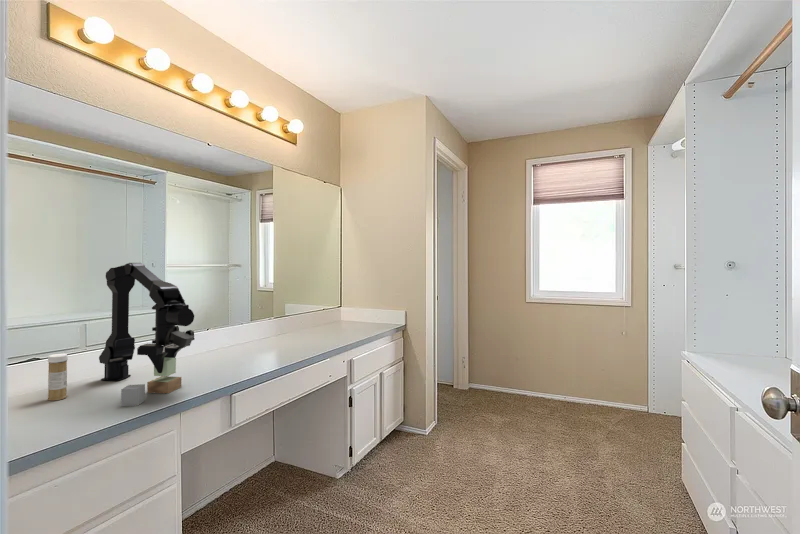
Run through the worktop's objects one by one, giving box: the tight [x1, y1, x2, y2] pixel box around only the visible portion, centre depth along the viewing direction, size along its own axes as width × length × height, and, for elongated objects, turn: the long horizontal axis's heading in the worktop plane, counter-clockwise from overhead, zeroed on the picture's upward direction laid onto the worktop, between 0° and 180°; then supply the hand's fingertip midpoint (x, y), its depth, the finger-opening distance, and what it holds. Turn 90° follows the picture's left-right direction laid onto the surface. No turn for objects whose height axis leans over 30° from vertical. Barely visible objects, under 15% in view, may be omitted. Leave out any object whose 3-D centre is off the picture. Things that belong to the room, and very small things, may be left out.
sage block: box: [153, 357, 177, 377], centre depth 134 cm, size 4×4×5 cm
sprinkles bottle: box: [47, 353, 68, 401], centre depth 123 cm, size 5×5×14 cm
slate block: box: [120, 383, 146, 407], centre depth 121 cm, size 4×4×5 cm
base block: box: [146, 376, 182, 394], centre depth 134 cm, size 7×7×4 cm
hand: (164, 371), depth 134 cm, fingers closed on sage block, 4 cm apart
